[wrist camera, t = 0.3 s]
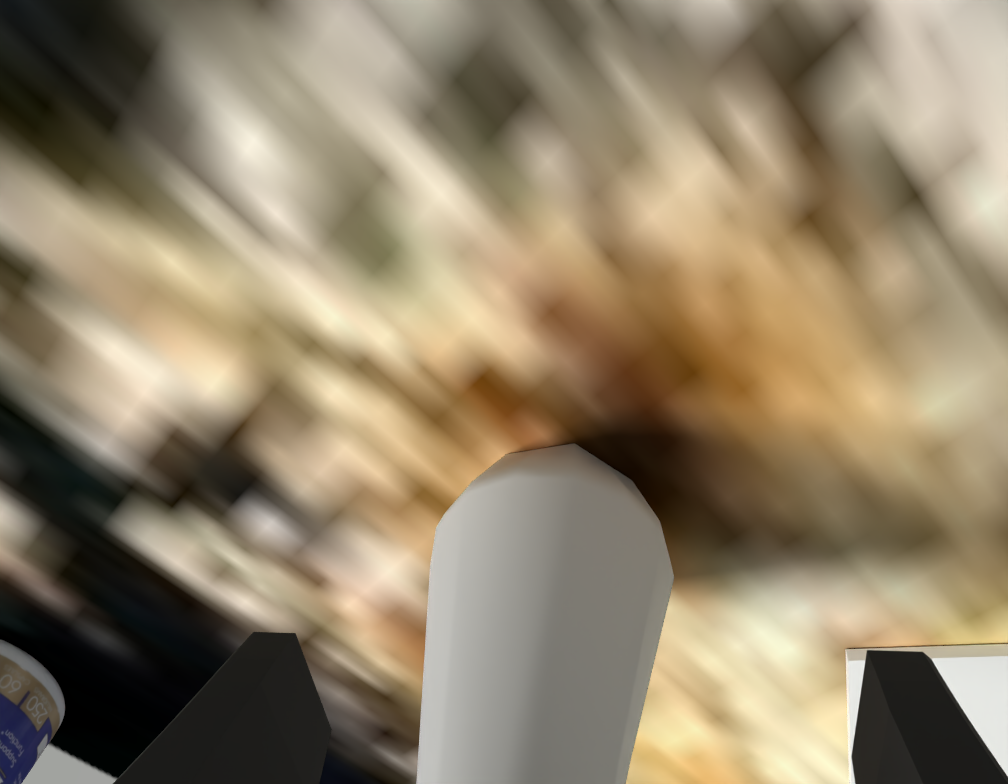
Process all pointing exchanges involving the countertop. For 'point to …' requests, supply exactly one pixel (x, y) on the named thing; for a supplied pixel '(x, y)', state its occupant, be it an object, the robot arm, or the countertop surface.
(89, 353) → the countertop surface
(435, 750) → the salt shaker
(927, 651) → the pad
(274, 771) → the robot arm
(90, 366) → the countertop surface
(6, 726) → the pill bottle
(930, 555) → the countertop surface
